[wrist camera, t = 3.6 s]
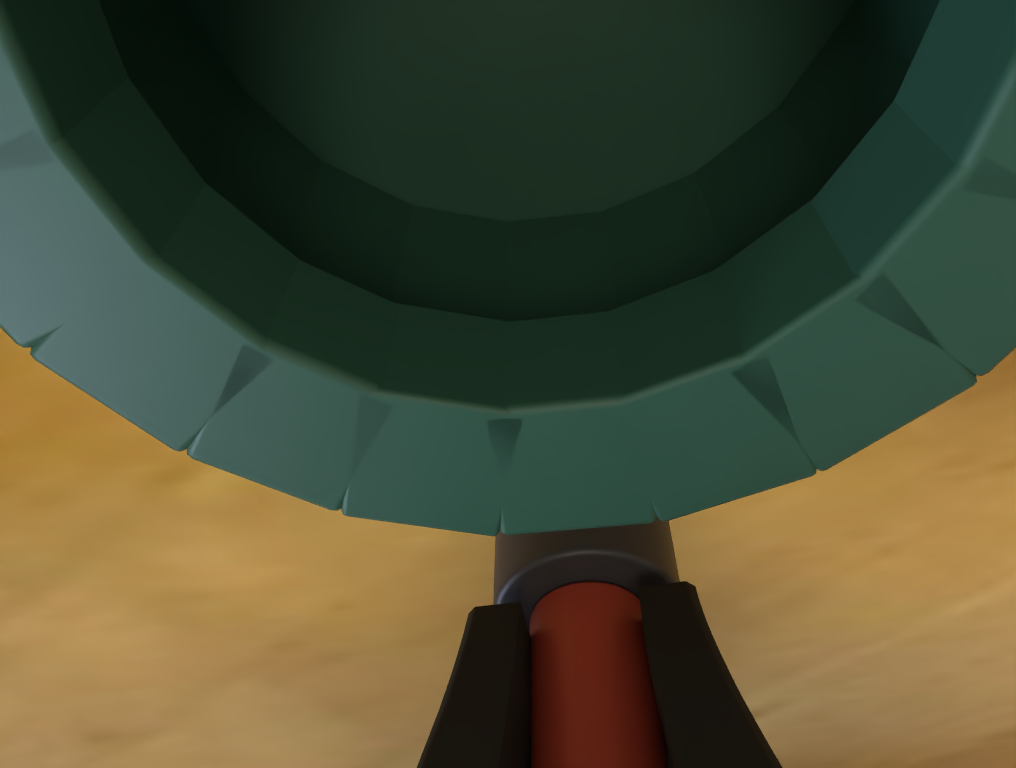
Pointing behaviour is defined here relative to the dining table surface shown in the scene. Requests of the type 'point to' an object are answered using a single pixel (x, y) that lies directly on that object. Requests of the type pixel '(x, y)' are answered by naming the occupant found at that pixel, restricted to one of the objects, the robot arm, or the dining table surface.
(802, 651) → the dining table surface
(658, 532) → the red grey stepped cylinder
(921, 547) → the dining table surface
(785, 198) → the teal tube ring
